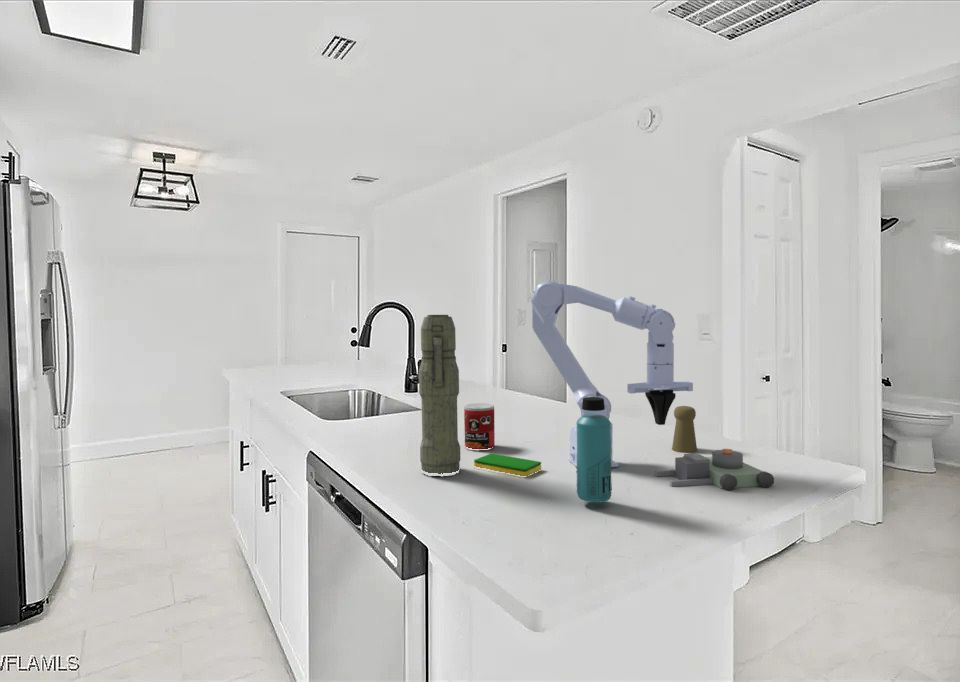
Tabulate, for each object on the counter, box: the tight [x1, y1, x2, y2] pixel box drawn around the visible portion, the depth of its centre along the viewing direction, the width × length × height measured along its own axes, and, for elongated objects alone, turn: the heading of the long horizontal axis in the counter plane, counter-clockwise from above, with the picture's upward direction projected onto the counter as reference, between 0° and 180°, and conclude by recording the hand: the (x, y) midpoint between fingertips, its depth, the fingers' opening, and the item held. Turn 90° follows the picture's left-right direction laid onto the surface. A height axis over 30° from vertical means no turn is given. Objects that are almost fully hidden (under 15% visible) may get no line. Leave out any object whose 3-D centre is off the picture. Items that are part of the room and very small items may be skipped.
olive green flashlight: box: [418, 314, 461, 474], centre depth 132 cm, size 9×12×35 cm
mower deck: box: [654, 448, 775, 491], centre depth 125 cm, size 20×17×6 cm
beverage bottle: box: [575, 397, 613, 503], centre depth 109 cm, size 6×7×20 cm
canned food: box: [463, 402, 496, 449], centre depth 154 cm, size 8×8×11 cm
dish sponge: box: [473, 452, 542, 476], centre depth 134 cm, size 7×14×2 cm, turn 54°
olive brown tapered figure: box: [671, 405, 698, 454], centre depth 149 cm, size 6×6×11 cm
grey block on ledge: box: [674, 452, 710, 480], centre depth 125 cm, size 5×5×5 cm
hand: (660, 424), depth 133 cm, fingers closed
